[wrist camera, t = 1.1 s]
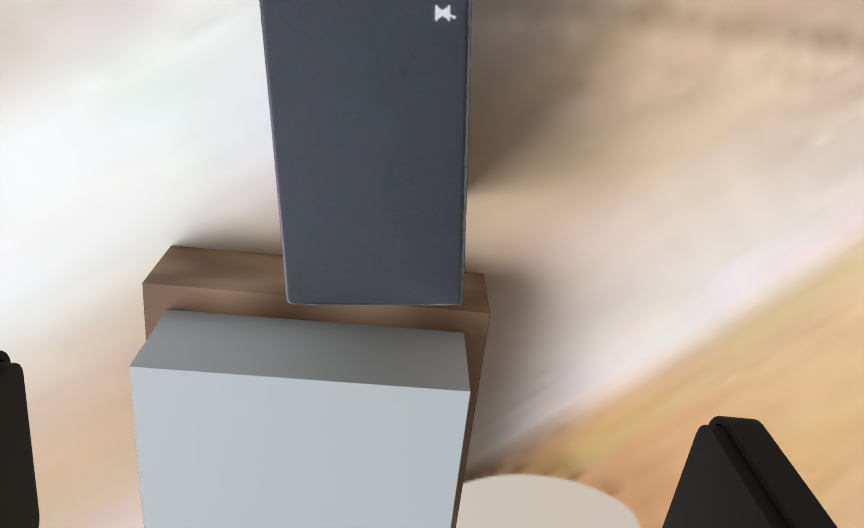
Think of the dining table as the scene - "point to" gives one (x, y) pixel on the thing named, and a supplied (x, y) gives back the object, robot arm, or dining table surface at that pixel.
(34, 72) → the dining table surface
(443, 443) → the tower top
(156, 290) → the tower base
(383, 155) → the small box
